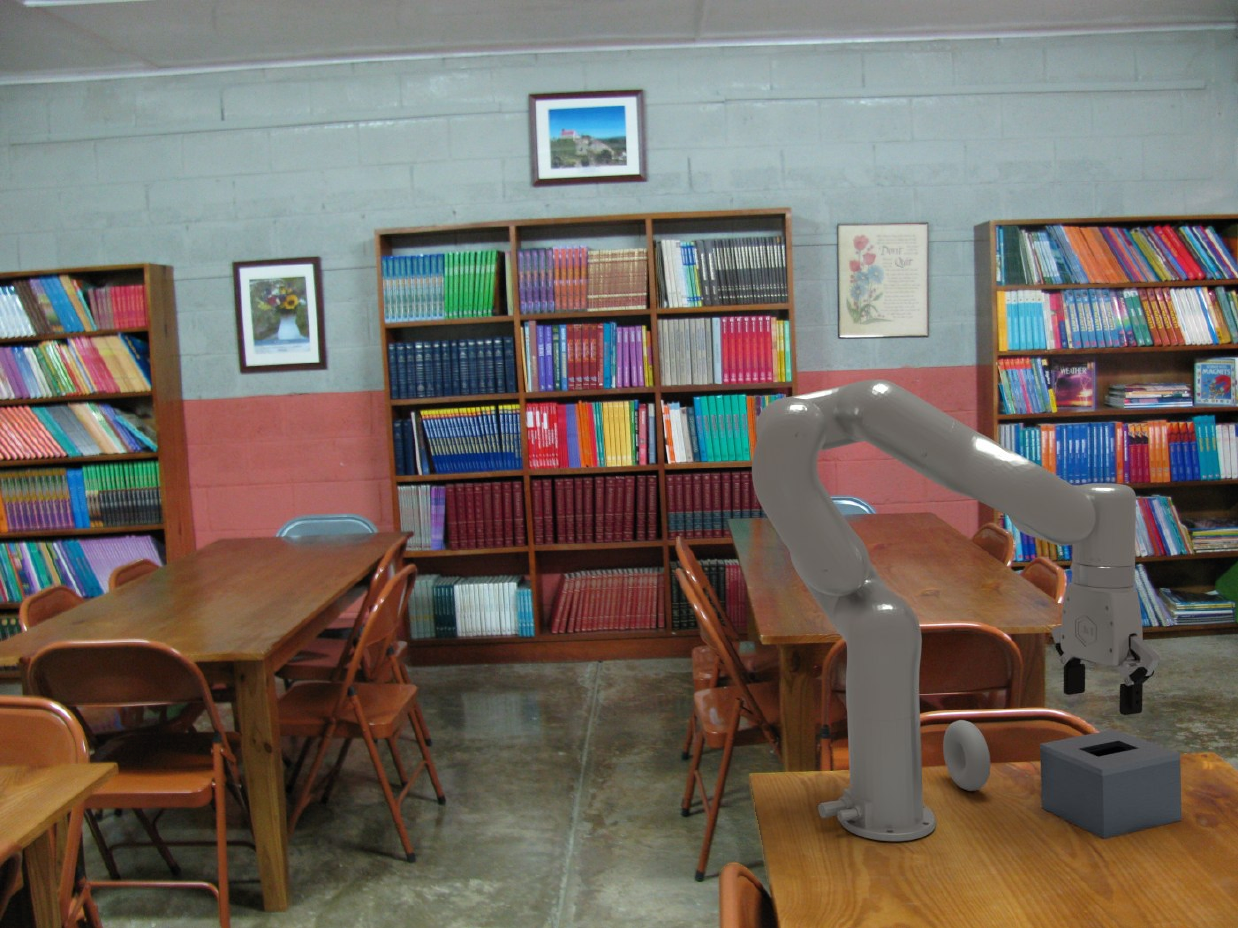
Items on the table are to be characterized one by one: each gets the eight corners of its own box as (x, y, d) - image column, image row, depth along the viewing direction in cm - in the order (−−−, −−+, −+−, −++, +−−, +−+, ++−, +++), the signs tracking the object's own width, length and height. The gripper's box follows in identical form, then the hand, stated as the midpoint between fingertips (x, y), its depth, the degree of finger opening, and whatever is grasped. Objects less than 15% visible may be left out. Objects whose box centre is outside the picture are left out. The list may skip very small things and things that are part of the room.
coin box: (1104, 838, 129) (1102, 769, 129) (1041, 807, 140) (1039, 743, 139) (1181, 820, 133) (1180, 753, 133) (1115, 791, 144) (1114, 729, 143)
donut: (996, 800, 143) (994, 730, 142) (973, 803, 142) (971, 733, 142) (960, 775, 153) (958, 710, 152) (939, 778, 152) (937, 712, 152)
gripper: (1033, 568, 142) (1032, 689, 143) (1133, 589, 125) (1131, 725, 126) (1076, 565, 144) (1075, 683, 145) (1180, 585, 128) (1177, 718, 129)
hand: (1101, 703), depth 136 cm, fingers open, 9 cm apart
